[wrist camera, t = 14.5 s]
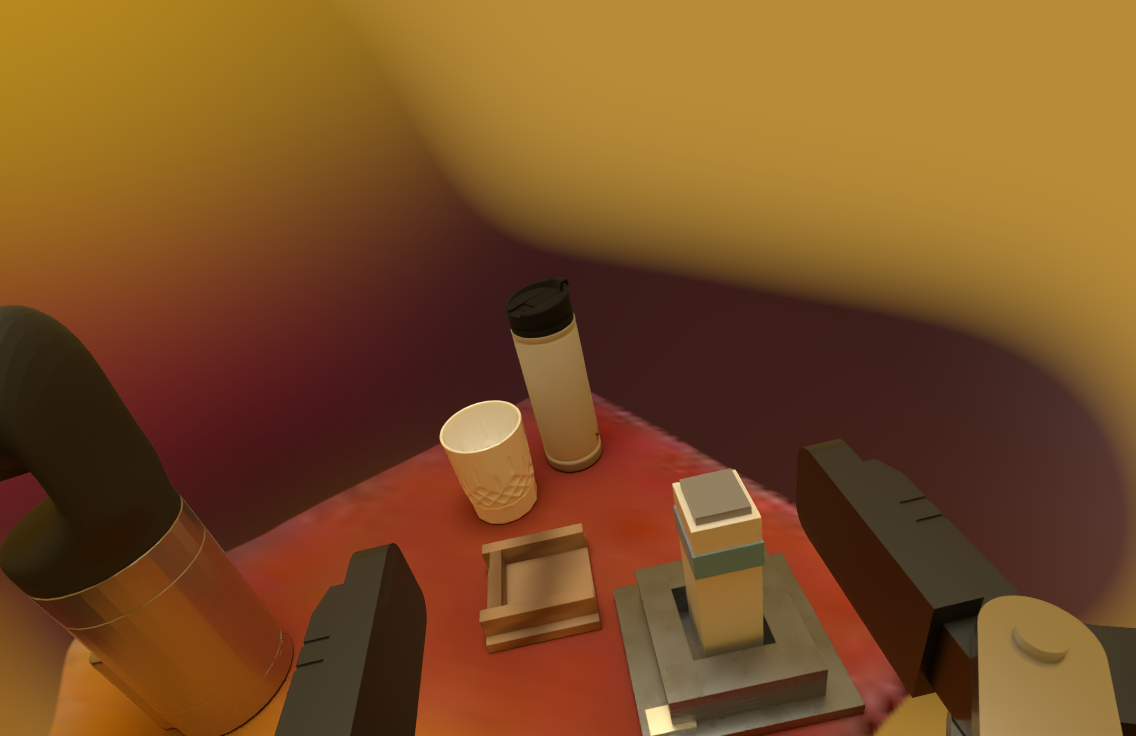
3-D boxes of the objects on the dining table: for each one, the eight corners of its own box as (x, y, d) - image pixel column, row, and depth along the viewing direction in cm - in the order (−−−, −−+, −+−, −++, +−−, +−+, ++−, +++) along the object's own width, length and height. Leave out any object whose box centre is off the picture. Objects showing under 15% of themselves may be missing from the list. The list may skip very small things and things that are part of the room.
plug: (705, 673, 38) (689, 527, 30) (688, 618, 42) (669, 475, 34) (765, 659, 38) (763, 510, 30) (742, 606, 42) (736, 461, 34)
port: (647, 759, 35) (640, 728, 33) (614, 597, 45) (607, 565, 43) (864, 712, 35) (869, 678, 33) (781, 560, 45) (781, 527, 43)
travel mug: (616, 447, 61) (584, 281, 51) (573, 481, 58) (529, 312, 48) (578, 427, 66) (541, 271, 55) (536, 457, 62) (489, 298, 52)
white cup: (493, 468, 62) (468, 397, 57) (555, 479, 59) (534, 404, 54) (455, 521, 56) (423, 446, 51) (521, 536, 53) (494, 458, 48)
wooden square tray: (489, 653, 43) (479, 630, 42) (491, 560, 51) (482, 538, 50) (601, 628, 43) (595, 605, 42) (586, 539, 51) (580, 517, 49)
